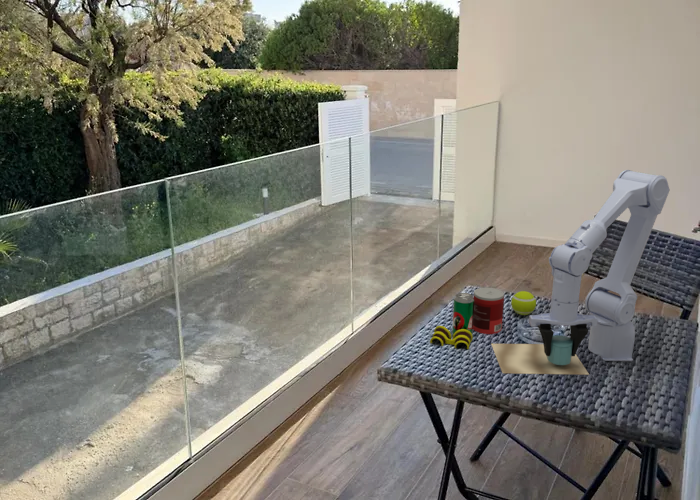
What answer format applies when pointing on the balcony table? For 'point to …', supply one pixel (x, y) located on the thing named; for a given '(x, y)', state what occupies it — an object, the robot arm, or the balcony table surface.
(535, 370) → the birch board
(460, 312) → the soda can
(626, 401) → the balcony table surface
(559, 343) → the teal cap
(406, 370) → the balcony table surface
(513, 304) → the tennis ball
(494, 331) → the canned food
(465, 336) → the opera glasses
